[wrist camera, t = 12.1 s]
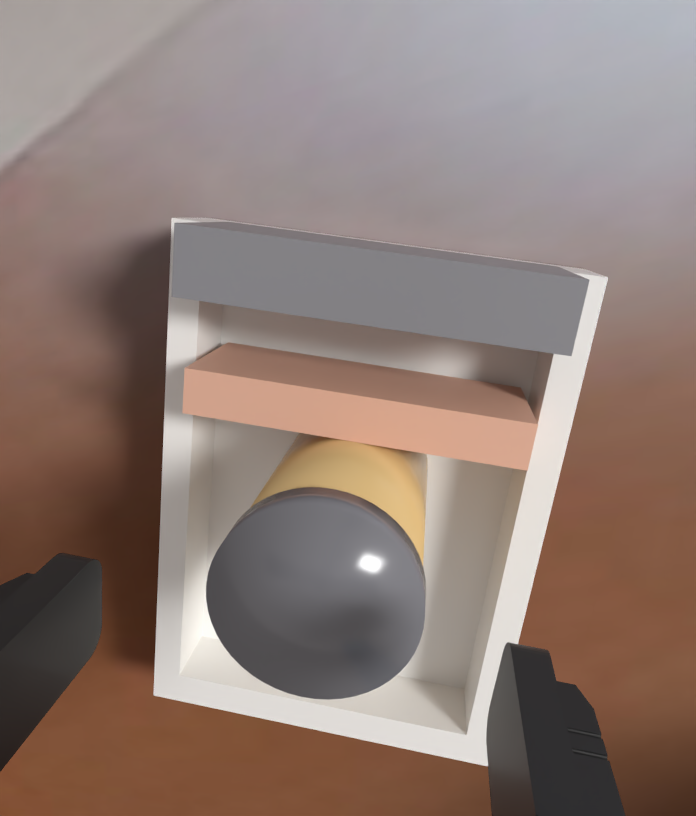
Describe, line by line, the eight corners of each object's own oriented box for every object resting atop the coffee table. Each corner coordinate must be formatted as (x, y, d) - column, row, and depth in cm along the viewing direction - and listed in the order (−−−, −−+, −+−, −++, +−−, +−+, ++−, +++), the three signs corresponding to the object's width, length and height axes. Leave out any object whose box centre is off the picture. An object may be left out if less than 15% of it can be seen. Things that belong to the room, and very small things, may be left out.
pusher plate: (228, 342, 22) (184, 367, 18) (520, 387, 21) (538, 424, 17) (225, 380, 23) (182, 413, 19) (512, 426, 22) (527, 470, 18)
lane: (208, 217, 22) (139, 217, 17) (583, 268, 21) (630, 285, 16) (185, 643, 28) (127, 739, 23) (482, 703, 26) (492, 820, 21)
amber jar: (298, 385, 23) (212, 486, 14) (441, 409, 22) (443, 528, 14) (284, 514, 24) (199, 675, 16) (418, 539, 24) (405, 718, 15)
